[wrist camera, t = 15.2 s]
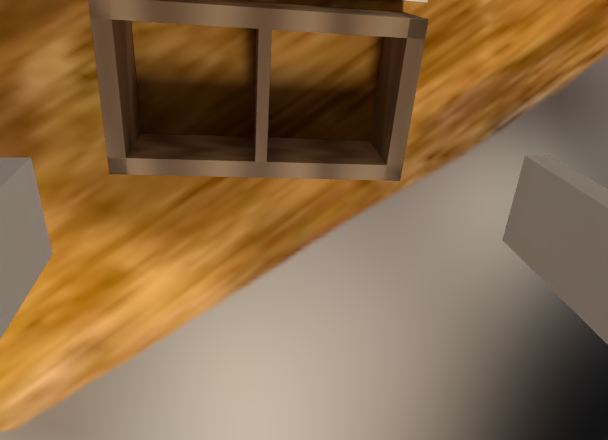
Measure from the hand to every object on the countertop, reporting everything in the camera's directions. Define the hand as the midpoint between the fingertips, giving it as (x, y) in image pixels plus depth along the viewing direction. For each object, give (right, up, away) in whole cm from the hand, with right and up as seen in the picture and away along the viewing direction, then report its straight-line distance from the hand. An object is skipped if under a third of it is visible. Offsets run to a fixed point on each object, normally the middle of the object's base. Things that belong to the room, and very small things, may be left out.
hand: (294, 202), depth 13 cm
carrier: (-4, +13, +33) cm, 36 cm away
